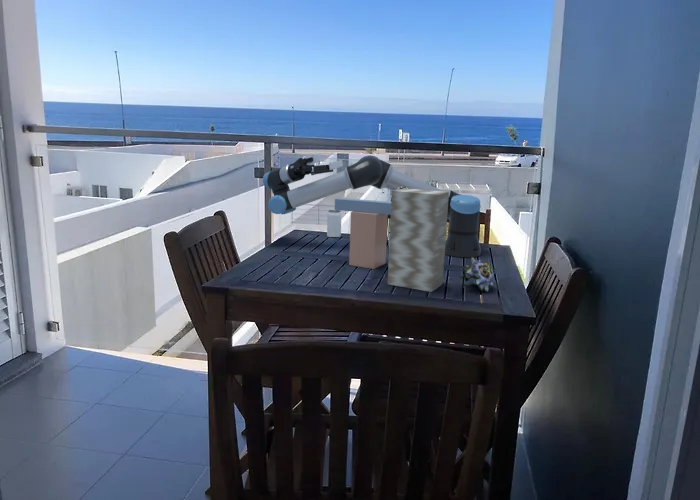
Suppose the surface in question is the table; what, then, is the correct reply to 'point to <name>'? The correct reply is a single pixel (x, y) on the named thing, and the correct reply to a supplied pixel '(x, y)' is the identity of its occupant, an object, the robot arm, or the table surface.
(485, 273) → the passion flower
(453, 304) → the table surface
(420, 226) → the stand
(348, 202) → the bar
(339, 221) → the can
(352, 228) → the block
